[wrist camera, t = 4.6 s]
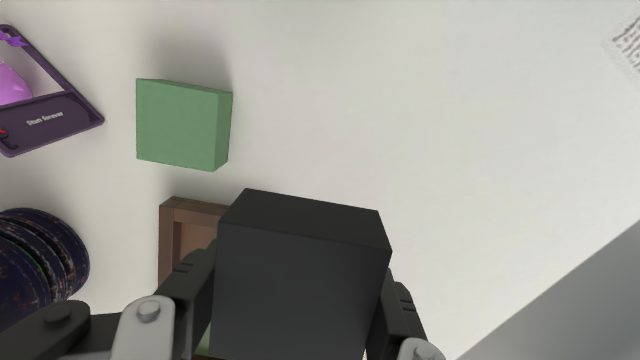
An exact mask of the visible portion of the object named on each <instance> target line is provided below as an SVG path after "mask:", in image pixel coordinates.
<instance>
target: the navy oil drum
mask: <svg viewBox="0 0 640 360" xmlns="http://www.w3.org/2000/svg"><path fill="white" fill-rule="evenodd" d="M89 270H90V263H89V257H88V254H87V251H86V248H85V246H84V244H83V243H82V241H81V240H80V238H79V237H78V235H77V234H76V233H75V232H74V231H73V230H72V229H71V228H70V227H69V226H68V225H66V224H65V223H64V222H63V221H61V220H60V219H58V218H56V217H54V216H52V215H51V214H49V213H46V212H43V211H40V210H36V209H32V208H13V209H9V210H5V211H3V212H0V333H1V332H3V331H5V330H6V329H8V328H9V327H11V326H13V325H14V324H16V323H17V322H19V321H21V320H22V319H24V318H26V317H27V316H29V315H30V314H32V313H34V312H35V311H37V310H39V309H40V308H42V307H45V306H47V305H49V304H52V303H55V302H59V301H65V300H67V299H68V298H69V297H70V296H72V295H73V294H74V293H76V292H77V291H78V290H79V289H80V288H81V287H82V286H83V285H84V284H85V282H86V280H87V278H88V275H89Z"/></svg>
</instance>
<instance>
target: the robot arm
mask: <svg viewBox="0 0 640 360" xmlns="http://www.w3.org/2000/svg"><path fill="white" fill-rule="evenodd" d="M216 240H217V238H214V239H213V240H212V241H211V243H210V244H209V245H208V247H207V248H206V249H202V248H197V249H195V250H194V251H192V252H190V253H188V254H187V255H186V256H185V257H184V258H183V259H182V261H181V262H180V264H178V265H177V266H176V268H175V269H174V271H172V272H171V274H170V275H169V276H168V277H167V278H166V279H165V281H164V282H163V283H162V284H161V285H160V287H159V288H158V289H157V290H156V291H155V292H154V294H153V295H151V296H146V297H142V298H139V299H137V300H135V301H133V302H132V303H130V304H129V305H128V306H127V307H126V308H125V309H124V310H123V312H119V313H109V314H97V315H91V314H90V307H89V306H88V304H86V303H85V302H83V301H79V300H65V301H59V302H55V303H52V304H49V305H47V306H45V307H42V308H40V309H39V310H37V311H35V312H34V313H32V314H30V315H29V316H27V317H26V318H24V319H22V320H21V321H19V322H17V323H16V324H14V325H13V326H11V327H9V328H8V329H6V330H5V331H3V332H1V333H0V360H179V359H180V358H183V359H189V360H191V359H192V357H193V355H194V353H195V351H196V349H197V347H198V345H199V343H200V341H201V339H202V337H203V335H204V333H205V331H206V329H207V327H208V325H209V323H210V321H211V315H212V302H213V288H214V274H215V254H216ZM365 347H366V355H367V360H446V358H445V357H444V355H443V354H442V353H441V351H440V350H439V349H438V348H437V347H435V346H434V345H433V344H431V343H430V342H428V339H427V337H426V334H425V332H424V329H423V326H422V324H421V321H420V318H419V316H418V313H417V312H416V308H415V305H414V304H413V300H412V297H411V294H410V292H409V291H408V290H407V289H406V287H405V286H404V285H403V284H402V283H401V282H395V281H394V279H393V276H392V273H391V270H390V268H388V269H387V273H386V276H385V280H384V284H383V287H382V291H381V294H380V295H379V299H378V302H377V306H376V309H375V313H374V316H373V320H372V323H371V327H370V331H369V334H368V338H367V341H366V345H365Z"/></svg>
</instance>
